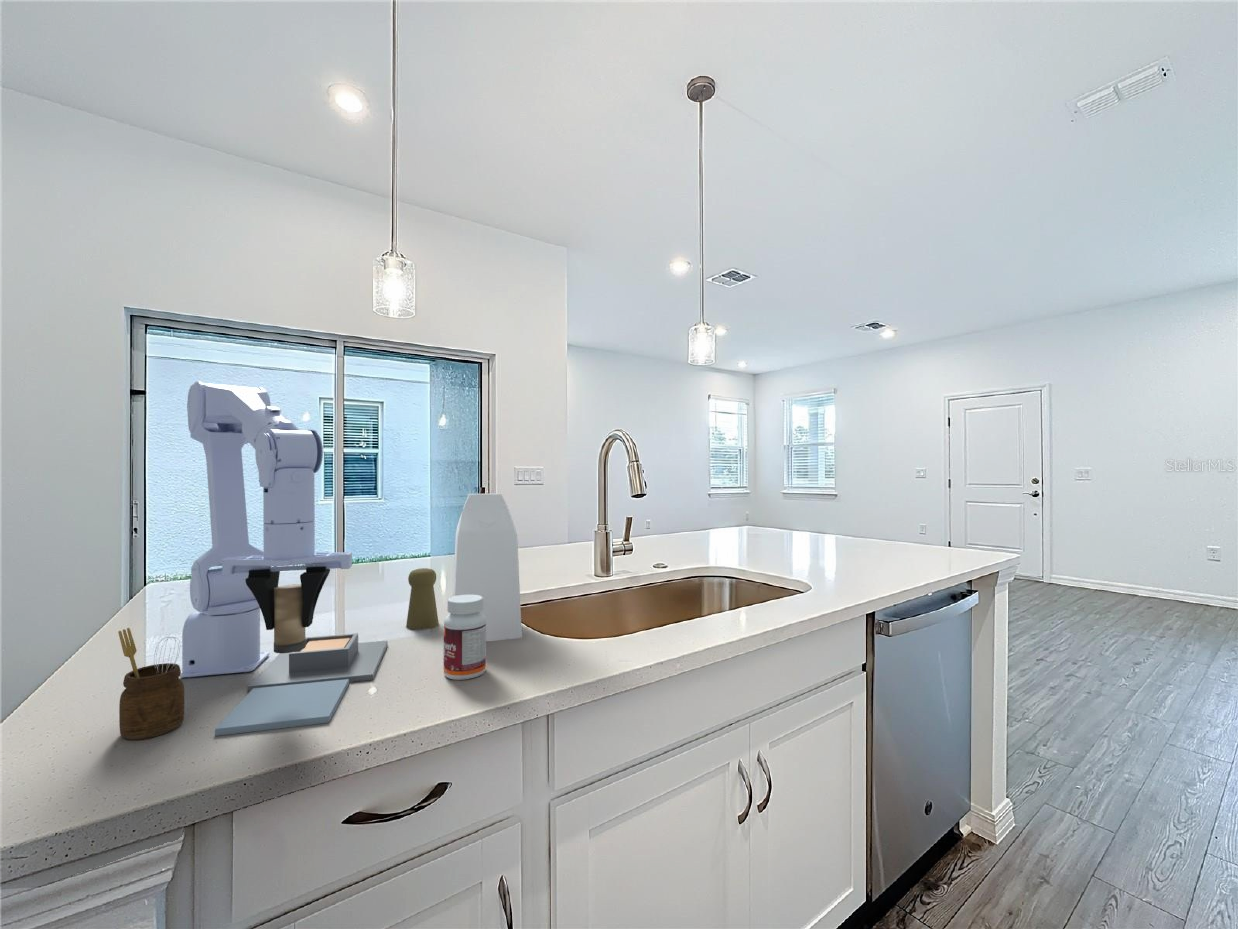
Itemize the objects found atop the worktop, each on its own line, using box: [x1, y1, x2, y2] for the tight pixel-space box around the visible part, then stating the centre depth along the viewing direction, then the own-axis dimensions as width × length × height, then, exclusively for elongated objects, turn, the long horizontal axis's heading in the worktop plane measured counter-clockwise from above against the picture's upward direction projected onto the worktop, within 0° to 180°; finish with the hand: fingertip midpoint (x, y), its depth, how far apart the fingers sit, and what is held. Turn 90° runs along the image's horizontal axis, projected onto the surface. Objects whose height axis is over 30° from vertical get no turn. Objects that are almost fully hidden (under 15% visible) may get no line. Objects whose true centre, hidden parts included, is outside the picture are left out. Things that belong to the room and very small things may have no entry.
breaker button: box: [300, 638, 350, 652], centre depth 86 cm, size 6×6×2 cm
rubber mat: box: [214, 679, 350, 737], centre depth 71 cm, size 12×12×1 cm
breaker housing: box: [247, 632, 388, 693], centre depth 86 cm, size 16×16×4 cm
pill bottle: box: [443, 595, 487, 681], centre depth 83 cm, size 6×6×11 cm
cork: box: [405, 567, 440, 631], centre depth 108 cm, size 6×6×11 cm
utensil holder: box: [117, 627, 185, 741], centre depth 66 cm, size 6×6×12 cm
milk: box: [452, 492, 523, 642], centre depth 104 cm, size 12×12×26 cm
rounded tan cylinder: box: [273, 583, 306, 654], centre depth 72 cm, size 4×4×8 cm
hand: (289, 626), depth 72 cm, fingers closed on rounded tan cylinder, 3 cm apart
